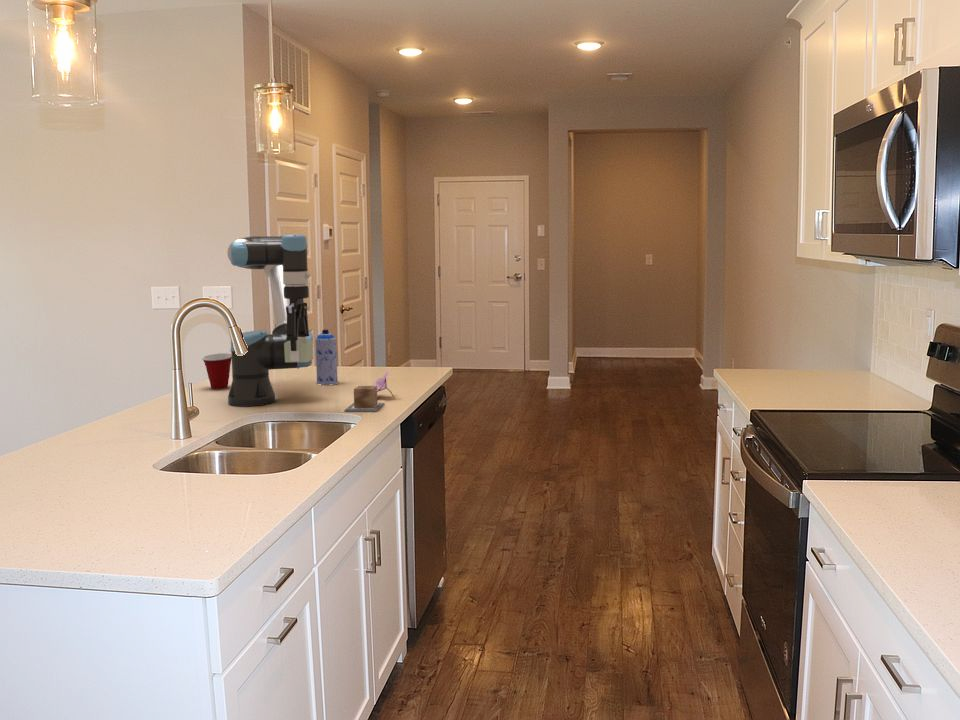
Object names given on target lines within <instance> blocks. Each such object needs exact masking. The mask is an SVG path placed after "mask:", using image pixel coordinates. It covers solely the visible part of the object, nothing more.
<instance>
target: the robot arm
mask: <svg viewBox="0 0 960 720" xmlns="http://www.w3.org/2000/svg"><path fill="white" fill-rule="evenodd" d="M307 242H308V241H307V237H306V235H304V234H283V235H281V236H278V235H277V236H273V235H270V236H264V235H263V236H262V235H261V236H256V235H254V236H247V237H246V236H245V237H241V238H238V239H235V240H233V241H232V242H231V243H230V244H229V246H228V249H227V257H228V260H229V261H230V264H231V265H232V266H234V267H238V268H243V269H246V270H247V269H248V270H264V274H265V275H266V276H267V277H268V278H269V282H270V291H271V298H272V299H271V300H272V308H273V315H274V323H275V327H274V328H273V329H272V332H271V334H268V332H267V330H264V329H258V330H249V331H246V332H241V333H242V334H243V337H244V340H245V342H246V344H247V346H248V352H247V353H246V354H245V355H243V356H237V355H236V354H235V351H234V348H233V343H232V340H230V350H229V351H230V354H231V356H232V359H231V376H232V377H231V378H232V382H231V385H230V389H229V392H228V394H227V395H228V396H227V403H228V405H230V406H235V407H236V406H237V407H253V406H254V407H256V406H262V405H269V404H272V403H275V402H276V394H275V393H276V392H275V391H274V388H273V386H272V385H273V384H272V382H271V380H270V375H269V372H270V370H285V369H286V370H287V369H300V368H308V367H310V366H311V364H312V361H313V359H312V360H311V361H309V362H285V351H284V343H285V342H288V341H290V361H300V356H299V340H312V341H313V342H314V334H313V332H310V331H309V317H308V302H304V299H308V298H309V297H310V292H309V286H308V283H309V278H310V274H309V273H308V272H309V271H308V269H309V267H308V243H307Z"/></svg>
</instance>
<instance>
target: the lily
mask: <svg viewBox="0 0 960 720" xmlns="http://www.w3.org/2000/svg"><path fill="white" fill-rule="evenodd" d="M391 370H392V369H389V370H388V369H387V370H386V371H385V373H384V374H383V376H382V377H378V378H377V379H376V380H375V381H374V386H377V393H378V392H381V391H383V390H387V391H388V392H389V393H390V395H392V397H393V398H395V395H394V394H393V392H392V391H391V390H390V389H389V388H388V384H387V376H388V375H389V373H390V372H391Z"/></svg>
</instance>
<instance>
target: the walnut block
mask: <svg viewBox="0 0 960 720" xmlns="http://www.w3.org/2000/svg"><path fill="white" fill-rule="evenodd" d="M353 403H354V408H374V407H375V406H376V405H377V403H378V392H377V386H375V385H357V386H356V387H354V388H353Z"/></svg>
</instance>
